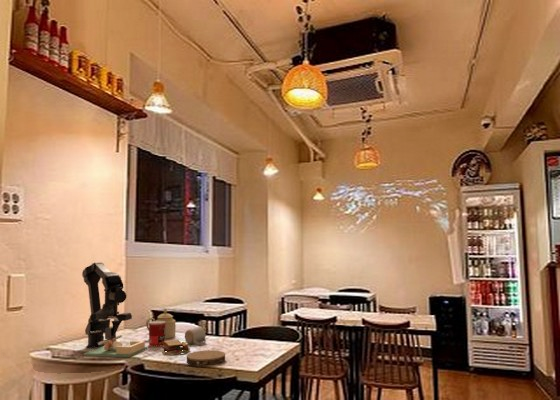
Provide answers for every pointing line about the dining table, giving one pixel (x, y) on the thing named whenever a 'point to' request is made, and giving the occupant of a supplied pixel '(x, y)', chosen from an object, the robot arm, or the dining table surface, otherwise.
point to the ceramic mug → (195, 336)
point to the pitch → (119, 350)
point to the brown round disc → (206, 358)
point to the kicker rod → (109, 338)
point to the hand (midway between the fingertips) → (110, 335)
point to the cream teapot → (166, 324)
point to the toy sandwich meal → (175, 347)
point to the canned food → (156, 333)
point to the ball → (116, 344)
